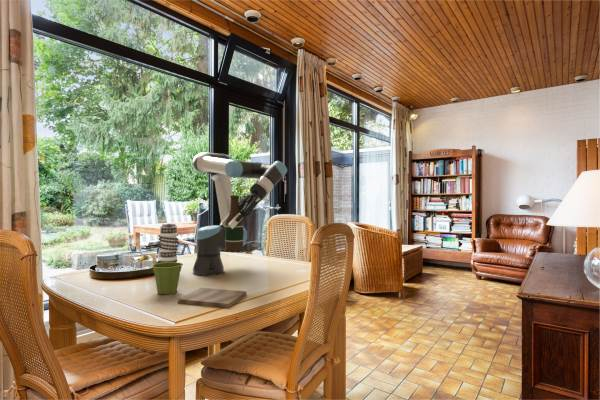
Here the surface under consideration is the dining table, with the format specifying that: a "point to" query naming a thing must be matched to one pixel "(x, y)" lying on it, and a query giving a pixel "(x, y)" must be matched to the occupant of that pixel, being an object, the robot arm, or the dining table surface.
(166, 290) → the plant pot
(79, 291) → the dining table surface
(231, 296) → the walnut board
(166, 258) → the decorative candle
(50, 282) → the dining table surface
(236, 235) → the beer bottle
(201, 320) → the dining table surface
